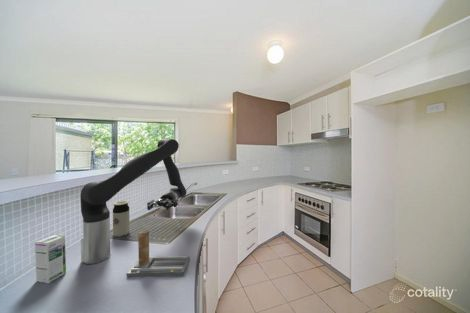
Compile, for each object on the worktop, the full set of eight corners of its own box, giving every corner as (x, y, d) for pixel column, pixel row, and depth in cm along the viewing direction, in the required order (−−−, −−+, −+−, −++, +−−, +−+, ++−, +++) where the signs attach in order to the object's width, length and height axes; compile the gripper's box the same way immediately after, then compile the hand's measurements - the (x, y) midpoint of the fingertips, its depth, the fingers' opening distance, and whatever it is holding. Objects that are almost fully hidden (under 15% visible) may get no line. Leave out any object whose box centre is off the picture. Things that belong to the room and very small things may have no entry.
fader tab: (133, 268, 68) (133, 235, 68) (141, 259, 74) (141, 228, 74) (146, 268, 68) (146, 235, 68) (153, 259, 74) (153, 228, 74)
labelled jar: (124, 229, 107) (124, 200, 107) (132, 232, 104) (132, 201, 104) (110, 235, 100) (109, 203, 100) (118, 238, 97) (117, 205, 96)
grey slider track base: (126, 277, 66) (126, 271, 66) (140, 261, 76) (140, 255, 76) (183, 275, 66) (183, 269, 66) (189, 259, 76) (189, 254, 76)
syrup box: (48, 284, 63) (47, 243, 62) (35, 281, 64) (34, 241, 64) (66, 273, 68) (65, 235, 68) (54, 271, 69) (53, 234, 69)
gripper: (156, 192, 100) (142, 200, 84) (181, 192, 101) (172, 199, 84) (156, 205, 100) (142, 216, 84) (182, 205, 101) (172, 215, 85)
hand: (157, 207), depth 84 cm, fingers open, 8 cm apart
